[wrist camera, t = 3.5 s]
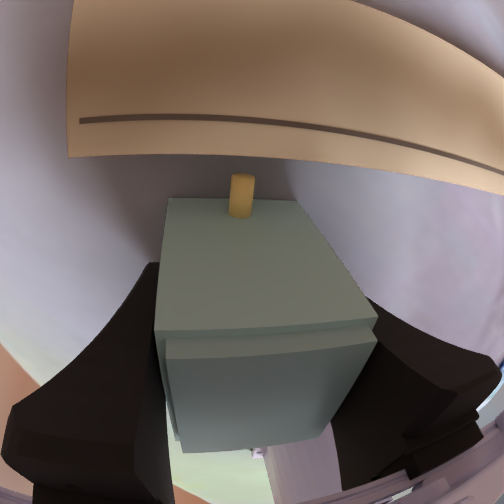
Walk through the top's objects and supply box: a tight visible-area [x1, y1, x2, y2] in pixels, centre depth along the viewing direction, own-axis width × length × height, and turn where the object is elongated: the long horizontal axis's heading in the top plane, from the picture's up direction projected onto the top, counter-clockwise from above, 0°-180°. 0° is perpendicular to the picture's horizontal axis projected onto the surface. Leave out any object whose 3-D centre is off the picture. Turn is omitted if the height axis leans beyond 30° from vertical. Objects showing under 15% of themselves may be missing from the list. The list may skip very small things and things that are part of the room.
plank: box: [66, 0, 504, 196], centre depth 9 cm, size 5×22×2 cm, turn 84°
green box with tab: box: [154, 173, 378, 453], centre depth 9 cm, size 6×4×6 cm
